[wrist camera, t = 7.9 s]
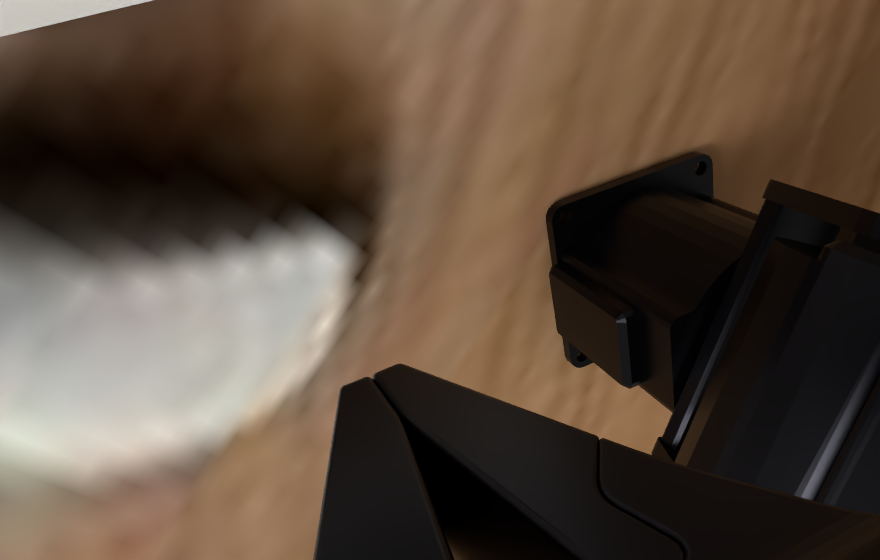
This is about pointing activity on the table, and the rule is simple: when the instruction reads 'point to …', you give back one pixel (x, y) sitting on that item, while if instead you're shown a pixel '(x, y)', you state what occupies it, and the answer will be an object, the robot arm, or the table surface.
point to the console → (51, 12)
